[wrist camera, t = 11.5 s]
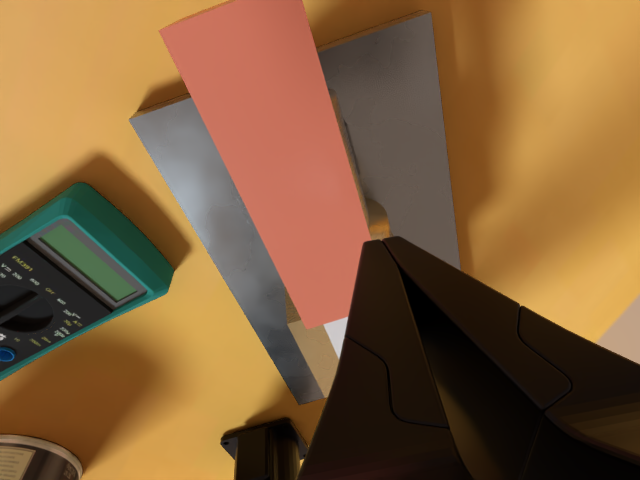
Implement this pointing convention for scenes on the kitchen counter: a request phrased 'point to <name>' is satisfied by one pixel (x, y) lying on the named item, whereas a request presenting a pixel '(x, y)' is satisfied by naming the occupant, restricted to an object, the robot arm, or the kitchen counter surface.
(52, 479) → the coffee can
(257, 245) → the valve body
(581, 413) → the robot arm
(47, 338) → the digital multimeter
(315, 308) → the lever
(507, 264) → the kitchen counter surface
